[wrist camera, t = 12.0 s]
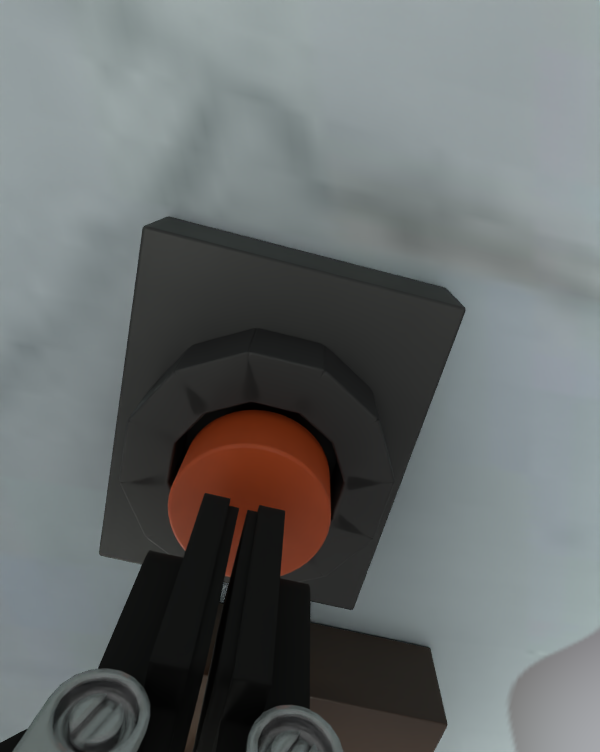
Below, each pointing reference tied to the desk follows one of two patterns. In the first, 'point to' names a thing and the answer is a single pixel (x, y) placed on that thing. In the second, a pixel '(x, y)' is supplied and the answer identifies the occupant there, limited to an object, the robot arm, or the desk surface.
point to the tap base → (365, 691)
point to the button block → (273, 381)
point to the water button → (257, 480)
